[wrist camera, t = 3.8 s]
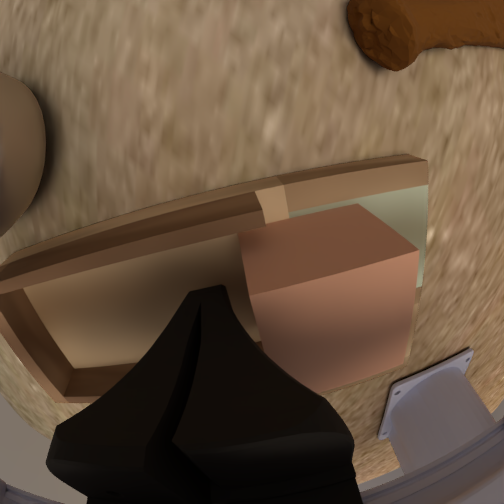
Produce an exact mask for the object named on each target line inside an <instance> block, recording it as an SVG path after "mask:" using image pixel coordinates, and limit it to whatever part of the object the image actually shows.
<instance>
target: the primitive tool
mask: <svg viewBox="0 0 504 504" xmlns="http://www.w3.org/2000/svg"><path fill="white" fill-rule="evenodd" d="M347 10H348V21H349V25H350V27H351V29H352V30H353V32H354V38H355V40H356V42H357V44H358V45H359V46H360V48H361V49H362V50H363V52H364V53H365V54H366V55H367V56H368V57H369V58H371V59H372V60H374V61H375V62H377V63H378V64H379V65H381V66H382V67H384V68H386V69H389V70H392V71H399V70H402V69H404V68H406V67H408V66H409V65H410V64H412V63H413V62H414V61H415V59H416V58H417V56H418V55H419V54H420V53H421V52H422V51H423V50H426V49H430V48H432V47H435V48H447V49H453V48H455V47H456V48H458V47H461V46H463V45H473V46H477V45H480V46H490V47H500V48H504V0H350V2H349V4H348V6H347Z"/></svg>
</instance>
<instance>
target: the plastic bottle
mask: <svg viewBox="0 0 504 504" xmlns="http://www.w3.org/2000/svg"><path fill="white" fill-rule="evenodd" d="M45 152H46V135H45V125H44V120H43V115H42V111H41V109H40V106H39V104H38V101H37V99H36V97H35V96H34V94H33V93H32V91H31V90H30V89H29V88H28V87H27V86H26V85H25V84H23V83H22V82H20V81H18V80H16V79H14V78H12V77H10V76H8V75H6V74H4V73H2V72H0V237H1V236H2V235H4V234H5V233H6V232H7V231H8V230H9V229H10V228H11V227H12V225H13V224H14V223H15V222H16V221H17V220H18V219H19V218H20V217H21V215H22V214H23V213H24V212H25V211H26V209H27V208H28V207H29V205H30V204H31V202H32V200H33V198H34V196H35V194H36V192H37V190H38V187H39V184H40V180H41V177H42V173H43V168H44V162H45Z"/></svg>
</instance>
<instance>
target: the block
mask: <svg viewBox="0 0 504 504" xmlns="http://www.w3.org/2000/svg"><path fill="white" fill-rule="evenodd" d="M238 238H239V243H240V249H241V254H242V260H243V265H244V271H245V276H246V282H247V287H248V292H249V297H250V301H251V305H252V308H253V312H254V316H255V320H256V323H257V327H258V331H259V335H260V338H261V342H262V346H263V349H264V353H265V354H266V355H267V356H268V357H269V358H270V359H272V360H273V361H274V362H275V363H276V364H277V365H278V366H280V367H281V368H282V369H283V370H284V371H285V372H287V373H288V374H289V375H290V376H292V377H293V378H295V379H296V380H297V381H299V382H300V383H301V384H303V385H304V386H306V387H307V388H309V389H311V390H312V391H314V392H315V393H320V392H324V391H327V390H330V389H334V388H337V387H340V386H343V385H346V384H349V383H352V382H355V381H358V380H361V379H364V378H367V377H370V376H373V375H375V374H378V373H381V372H383V371H386V370H389V369H391V368H394V367H396V366H399V365H401V364H403V363H404V358H405V353H406V348H407V343H408V338H409V332H410V327H411V321H412V314H413V307H414V300H415V292H416V284H417V274H418V264H419V249H418V248H416V247H415V246H414V245H413V244H411V243H410V242H409V241H408V240H406V239H405V238H404V237H403V236H401V235H400V234H399V233H397V232H396V231H395V230H394V229H392V228H391V227H390V226H388V225H387V224H386V223H384V222H383V221H382V220H380V219H379V218H378V217H376V216H375V215H373V214H372V213H371V212H369V211H368V210H367V209H365V208H364V207H362V206H361V205H360V204H358V203H356V204H352V205H347V206H342V207H338V208H333V209H328V210H324V211H319V212H315V213H310V214H306V215H302V216H297V217H293V218H289V219H284V220H280V221H276V222H271V223H267V224H266V227H262V228H258V229H253V230H249V231H245V232H240V233H238Z"/></svg>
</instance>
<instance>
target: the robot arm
mask: <svg viewBox="0 0 504 504" xmlns="http://www.w3.org/2000/svg"><path fill="white" fill-rule="evenodd" d="M473 353H474V351H473V350H472V349H471V348H470V349H467V350H466V351H464V352H462V353H460V354H458V355H456V356H454V357H452V358H450V359H448V360H446V361H444V362H442V363H440V364H438V365H435V366H433V367H431V368H429V369H427V370H425V371H422V372H420V373H418V374H415V375H413V376H411V377H408V378H406V379H404V380H401V381H399V382H396V383H395V384H393V385H392V387H391V390H390V394H389V398H388V402H387V406H386V409H385V413H384V417H383V420H382V424H381V427H380V430H379V433H378V439H379V440H383V439H385V438H389V440H390V442H391V445H392V447H393V449H394V452H395V454H396V456H397V459H398V461H399V463H400V466H401V468H402V470H403V473H404V476H402V477H400V478H397V479H395V480H392V481H390V482H387V483H385V484H382V485H380V486H377V487H375V488H372V489H369V490H366V491H363V492H359V489H358V485H357V482H356V479H355V478H356V473H355V470H354V467H353V464H352V457H353V452H354V446H355V445H354V439H353V437H352V435H351V433H350V431H349V429H348V427H347V426H346V424H345V423H344V421H343V420H342V418H341V417H340V416H339V415H338V413H337V412H336V411H335V409H334V408H333V407H332V406H331V405H330V403H329V402H328V401H327V400H326V399H325V398H324V397H322V396H320V395H319V394H317V393H315V392H314V391H312V390H311V389H309V388H307V387H306V386H304V385H303V384H301V383H300V382H299V381H297V380H296V379H295V378H293V377H292V376H290V375H289V374H288V373H287V372H285V371H284V370H283V369H282V368H281V367H280V366H278V365H277V364H276V363H275V362H274V361H273V360H272V359H270V358H269V357H268V356H267V355H266V354H265V353H264V352H263V351H262V349H261V348H260V347H259V346H258V345H257V344H256V343H255V342H254V341H253V339H252V338H251V337H250V336H249V334H248V333H247V332H246V330H245V329H244V327H243V326H242V325H241V323H240V322H239V320H238V318H237V317H236V315H235V313H234V311H233V309H232V305H231V302H230V299H229V296H228V293H227V289H226V286H224V285H222V284H220V285H215V286H211V287H207V288H202V289H198V290H193V291H189V292H188V294H187V295H186V297H185V298H184V300H183V302H182V303H181V305H180V306H179V308H178V309H177V311H176V312H175V314H174V316H173V317H172V319H171V320H170V322H169V323H168V325H167V326H166V328H165V329H164V330H163V332H162V333H161V334H160V336H159V337H158V338H157V340H156V341H155V342H154V344H153V345H152V346H151V348H150V349H149V350H148V351H147V353H146V354H145V355H144V356H143V357H142V358H141V359H140V361H139V362H138V363H137V364H136V365H135V366H134V367H133V368H132V369H131V370H130V371H129V372H128V373H127V374H126V375H125V376H124V377H123V378H122V379H121V380H120V381H118V382H117V383H116V384H115V385H114V386H113V387H112V388H111V389H110V390H108V391H107V392H106V393H105V394H104V395H102V396H101V397H100V398H99V399H97V400H96V401H94V402H93V403H92V404H90V405H89V406H88V407H86V408H85V409H83V410H82V411H80V412H79V413H77V414H76V415H74V416H72V417H71V418H69V419H67V420H66V421H64V422H63V423H61V424H59V425H57V426H56V429H55V432H54V435H53V439H52V442H51V445H50V449H49V452H48V456H47V459H46V465H47V467H48V469H49V470H50V472H51V473H52V474H53V475H54V476H56V477H57V478H58V479H60V480H61V481H63V482H64V483H66V484H67V485H69V486H71V487H72V488H74V489H76V490H77V491H79V492H80V493H82V494H84V495H86V496H87V497H88V498H87V504H504V417H503V418H502V419H501V420H499V421H498V422H497V423H496V422H495V420H494V418H493V417H492V415H491V414H490V412H489V410H488V409H487V407H486V406H485V404H484V403H483V401H482V400H481V398H480V397H479V395H478V394H477V393H476V391H475V390H474V388H473V387H472V385H471V384H470V382H469V381H468V380H467V378H466V377H465V375H464V374H465V372H466V370H467V367H468V365H469V363H470V360H471V358H472V356H473ZM0 504H63V503H60V502H56V501H52V500H49V499H46V498H43V497H40V496H37V495H34V494H31V493H28V492H26V491H23V490H20V489H18V488H15V487H13V486H10V485H8V484H6V483H5V482H4V481H3V480H1V479H0Z"/></svg>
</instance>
